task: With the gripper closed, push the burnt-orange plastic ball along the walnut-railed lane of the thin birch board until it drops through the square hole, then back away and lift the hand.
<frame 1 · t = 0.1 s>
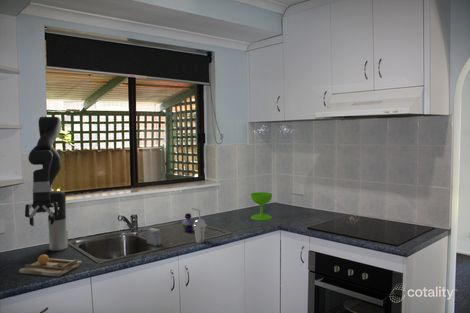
hand: (42, 225, 187), 22 cm above the worktop, tool pointing down, fingers open, 8 cm apart
cup with straw: (199, 241, 234), on the worktop
wineglass: (261, 218, 293), on the worktop
deck: (51, 268, 192), on the worktop
potion bottle: (188, 231, 257), on the worktop
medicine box: (154, 244, 230), on the worktop
ball: (43, 259, 193), point 4 cm above the worktop, touching deck
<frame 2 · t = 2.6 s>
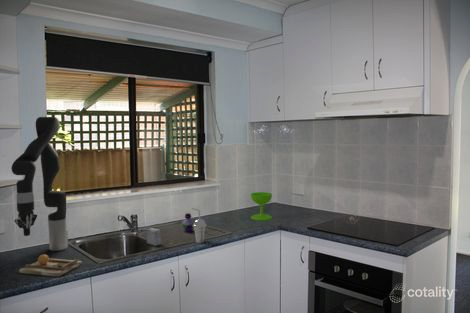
hand: (27, 235, 194), 16 cm above the worktop, tool pointing down, fingers closed
nothing on the worktop moved.
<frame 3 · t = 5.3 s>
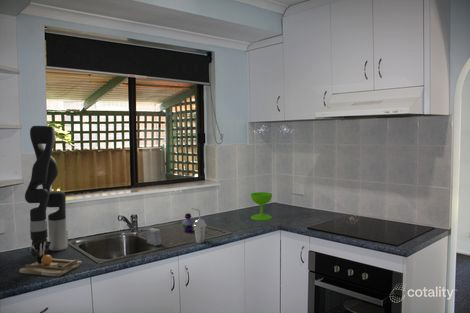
hand: (40, 263, 193), 2 cm above the worktop, tool pointing down, fingers closed
ball: (46, 259, 192), point 4 cm above the worktop, tilted 35°, touching deck
everything else where it was.
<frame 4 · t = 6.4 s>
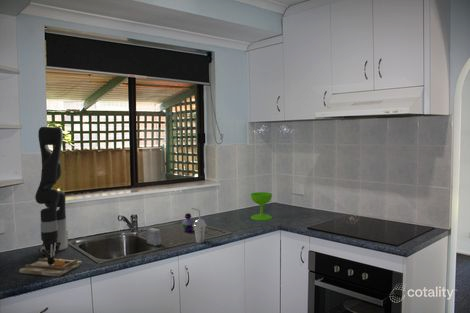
hand: (51, 264, 192), 2 cm above the worktop, tool pointing down, fingers closed
ball: (59, 264, 191), point 2 cm above the worktop, tilted 164°
everything else where it was.
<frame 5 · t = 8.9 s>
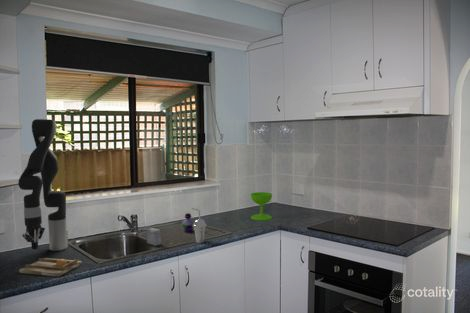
hand: (35, 248, 196), 8 cm above the worktop, tool pointing down, fingers closed
ball: (61, 264, 190), point 2 cm above the worktop, tilted 137°
everything else where it was.
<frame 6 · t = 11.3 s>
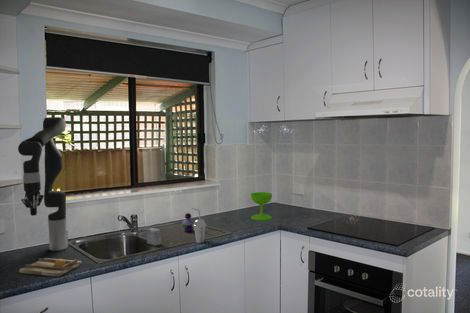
hand: (33, 215, 197), 25 cm above the worktop, tool pointing down, fingers closed
ball: (59, 264, 191), point 2 cm above the worktop, tilted 156°
everything else where it was.
at the end: ball 0.1 cm from the target spot on the deck, point 2.5 cm above the deck's base; ball touching worktop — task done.
